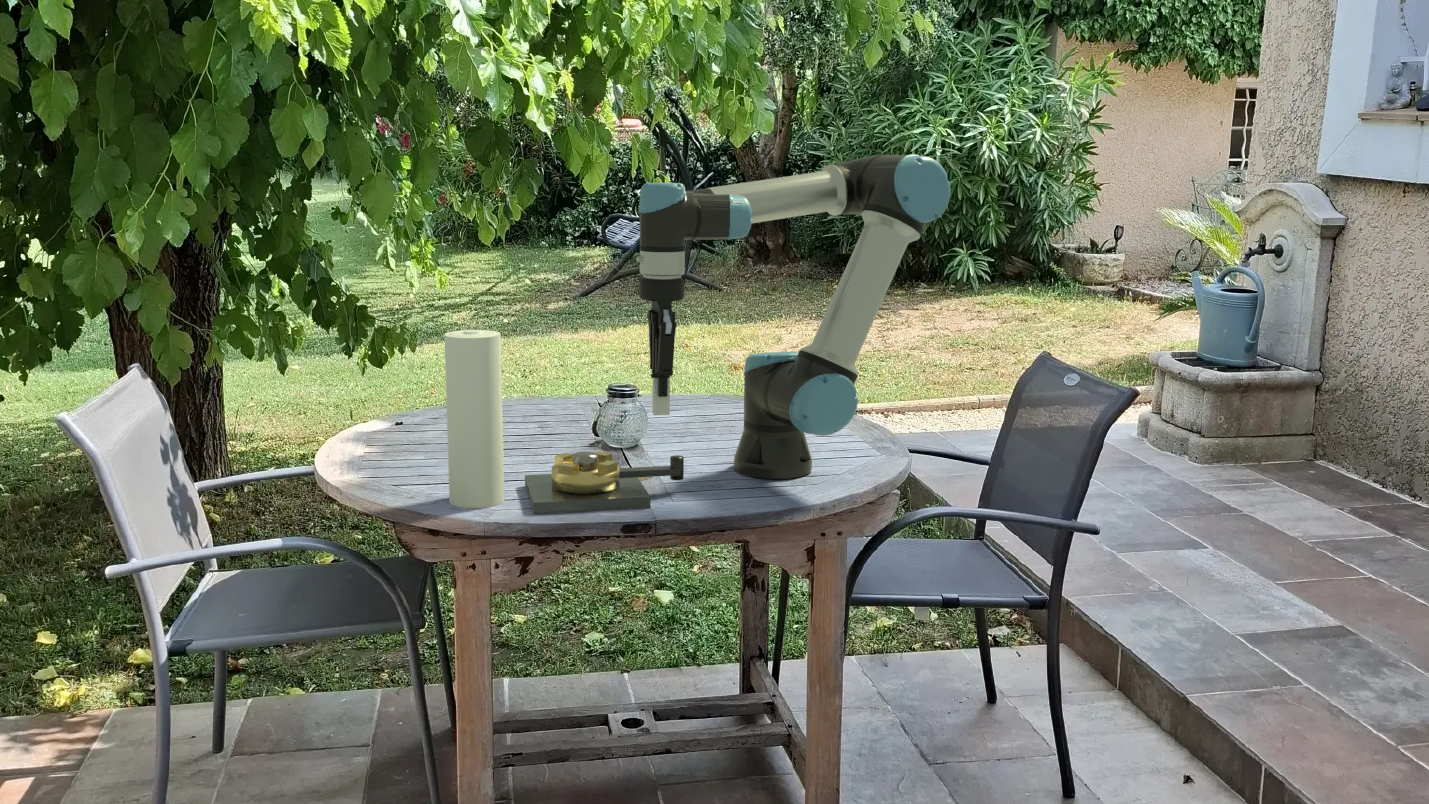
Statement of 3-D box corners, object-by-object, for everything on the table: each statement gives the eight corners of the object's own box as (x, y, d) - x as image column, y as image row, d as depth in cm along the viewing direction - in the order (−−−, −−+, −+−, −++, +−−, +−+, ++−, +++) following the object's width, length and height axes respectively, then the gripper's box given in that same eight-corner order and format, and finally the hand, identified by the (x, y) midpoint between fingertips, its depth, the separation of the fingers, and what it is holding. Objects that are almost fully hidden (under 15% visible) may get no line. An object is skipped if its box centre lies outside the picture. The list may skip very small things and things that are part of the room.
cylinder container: (507, 493, 219) (504, 327, 213) (500, 508, 210) (496, 335, 204) (454, 492, 219) (449, 326, 213) (445, 508, 209) (439, 334, 203)
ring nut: (676, 470, 227) (676, 442, 226) (690, 488, 215) (690, 458, 214) (548, 476, 222) (548, 447, 220) (555, 494, 210) (555, 464, 209)
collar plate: (650, 475, 232) (651, 465, 232) (672, 506, 212) (672, 495, 212) (523, 481, 227) (523, 471, 226) (533, 514, 207) (533, 502, 206)
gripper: (633, 272, 210) (632, 406, 215) (646, 280, 198) (646, 423, 202) (675, 272, 212) (674, 405, 217) (692, 280, 199) (690, 421, 204)
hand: (660, 413), depth 209 cm, fingers closed
